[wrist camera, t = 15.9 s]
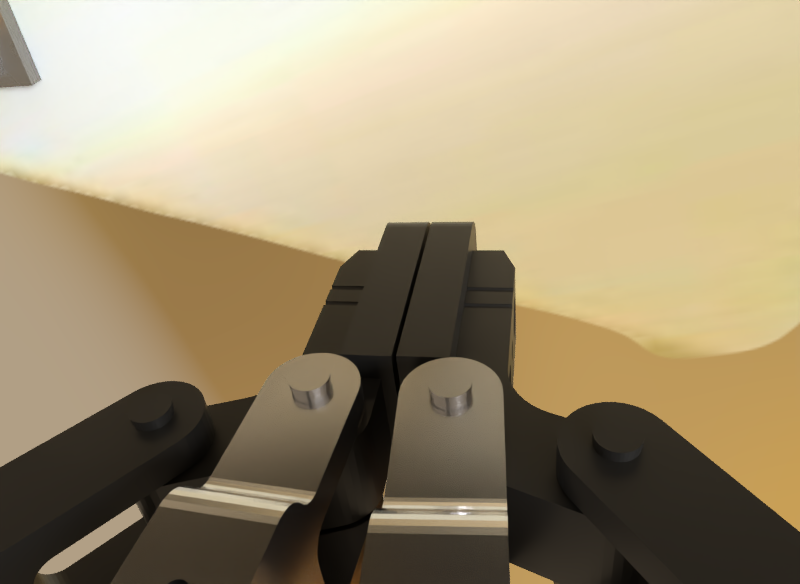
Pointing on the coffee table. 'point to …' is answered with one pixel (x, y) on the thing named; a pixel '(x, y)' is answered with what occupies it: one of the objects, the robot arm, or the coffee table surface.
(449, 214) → the coffee table surface
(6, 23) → the grey display stand
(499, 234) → the coffee table surface
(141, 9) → the coffee table surface
